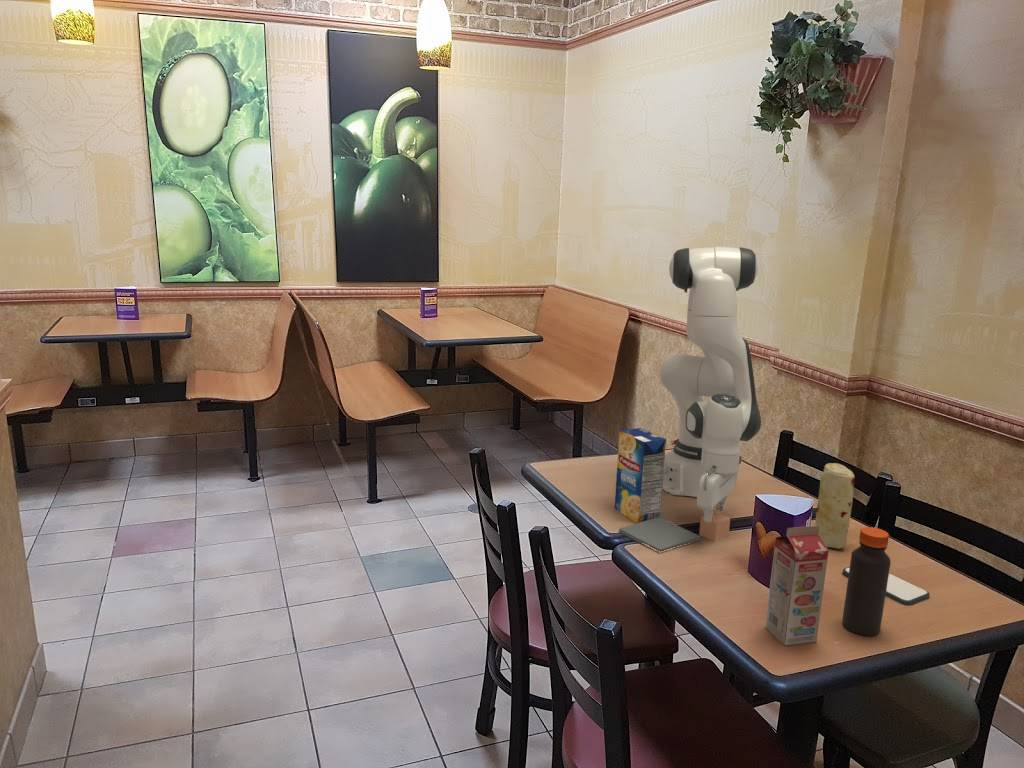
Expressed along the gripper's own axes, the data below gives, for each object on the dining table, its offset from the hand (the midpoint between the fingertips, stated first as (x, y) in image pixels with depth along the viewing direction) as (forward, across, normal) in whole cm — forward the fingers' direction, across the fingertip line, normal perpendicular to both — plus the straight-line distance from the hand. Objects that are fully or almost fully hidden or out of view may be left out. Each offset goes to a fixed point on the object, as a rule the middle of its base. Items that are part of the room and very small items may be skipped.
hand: (714, 515), depth 184 cm
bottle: (+6, -24, -37) cm, 45 cm away
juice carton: (+6, -35, -26) cm, 44 cm away
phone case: (+6, -2, -39) cm, 40 cm away
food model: (+6, +13, -25) cm, 29 cm away
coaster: (+6, -8, +11) cm, 15 cm away
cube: (+6, +1, 0) cm, 6 cm away
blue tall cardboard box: (+6, +2, +21) cm, 22 cm away
